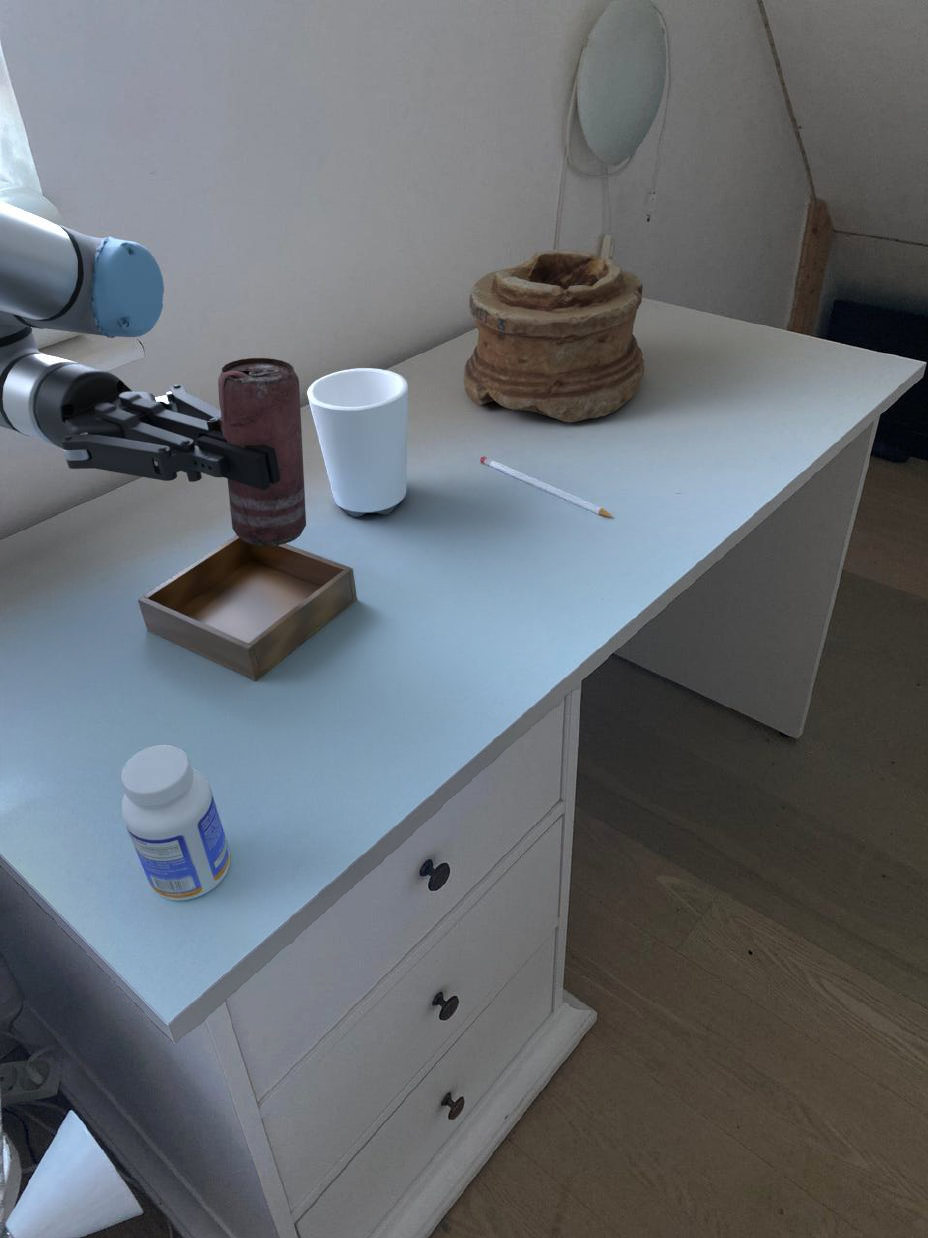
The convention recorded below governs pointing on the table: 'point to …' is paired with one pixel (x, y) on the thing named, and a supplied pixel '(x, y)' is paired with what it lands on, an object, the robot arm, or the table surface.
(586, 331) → the container
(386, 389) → the cup
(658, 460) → the table surface
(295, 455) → the can
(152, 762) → the pill bottle
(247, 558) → the tray
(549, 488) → the pencil
